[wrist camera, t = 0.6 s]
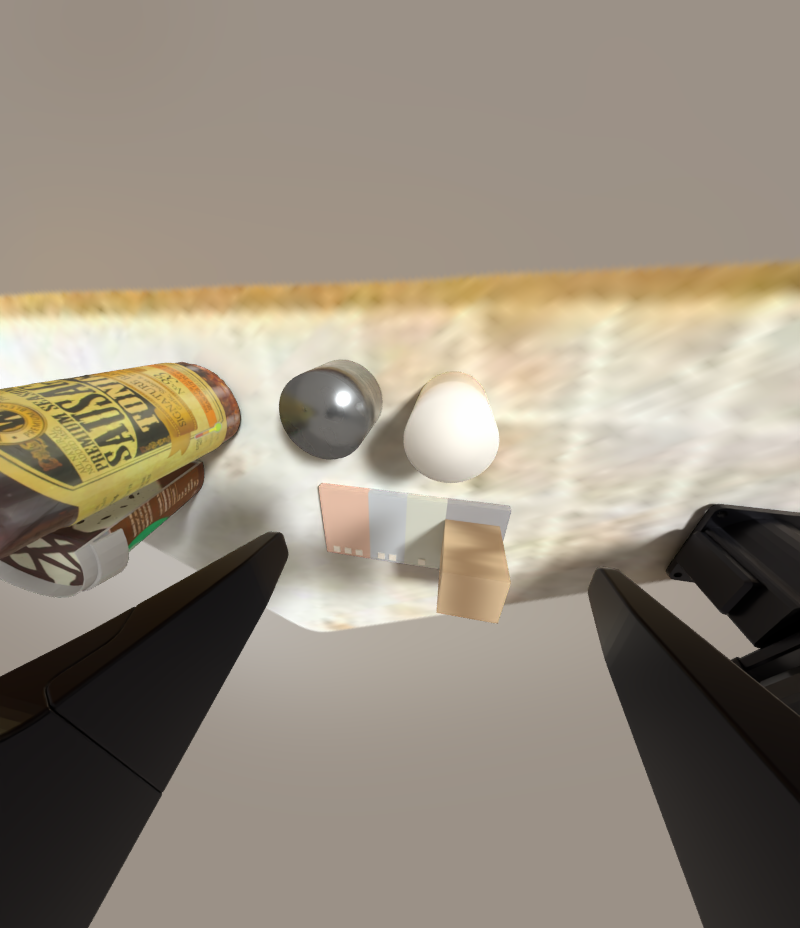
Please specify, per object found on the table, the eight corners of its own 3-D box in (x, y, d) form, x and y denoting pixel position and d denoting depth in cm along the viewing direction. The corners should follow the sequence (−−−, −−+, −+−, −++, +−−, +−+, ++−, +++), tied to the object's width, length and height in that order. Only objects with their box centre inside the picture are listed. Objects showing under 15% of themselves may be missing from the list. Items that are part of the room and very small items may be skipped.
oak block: (499, 526, 21) (510, 582, 17) (490, 564, 23) (497, 623, 19) (445, 519, 22) (442, 572, 17) (440, 556, 24) (436, 612, 19)
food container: (116, 495, 28) (-35, 578, 19) (89, 438, 25) (-104, 508, 16) (231, 520, 27) (125, 621, 18) (218, 465, 24) (83, 554, 15)
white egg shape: (493, 373, 17) (508, 400, 12) (481, 442, 19) (489, 487, 14) (419, 369, 17) (405, 392, 13) (415, 435, 19) (402, 477, 15)
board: (509, 506, 21) (511, 512, 20) (492, 572, 24) (493, 578, 24) (321, 482, 23) (318, 487, 22) (329, 546, 26) (327, 552, 26)
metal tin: (382, 361, 18) (364, 375, 14) (382, 436, 20) (367, 463, 17) (306, 357, 18) (271, 369, 15) (315, 430, 21) (287, 454, 17)
